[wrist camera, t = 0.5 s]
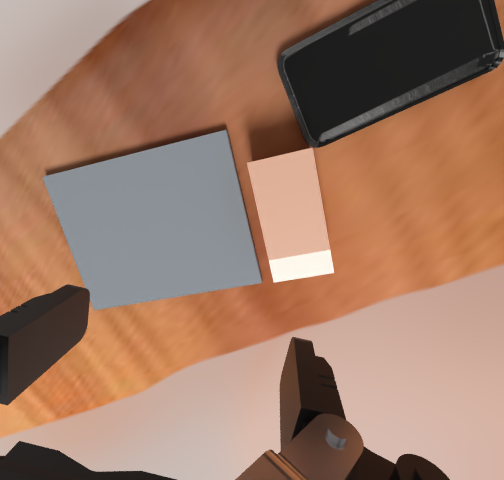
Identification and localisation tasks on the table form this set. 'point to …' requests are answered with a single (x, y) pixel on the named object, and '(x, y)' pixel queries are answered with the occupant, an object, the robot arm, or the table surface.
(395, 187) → the table surface
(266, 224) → the white-tipped pink eraser
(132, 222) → the mat
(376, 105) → the phone
